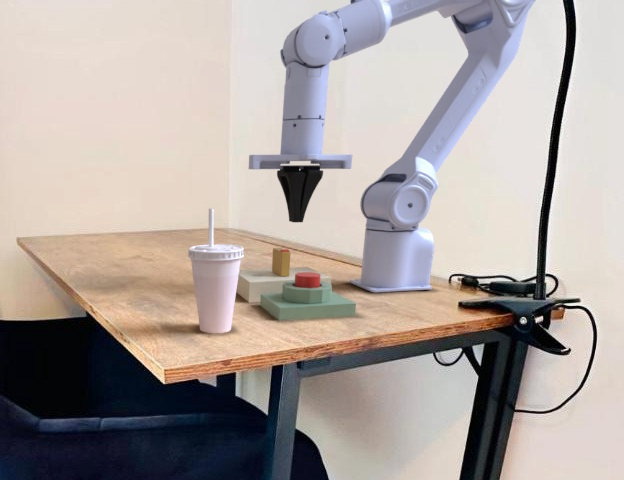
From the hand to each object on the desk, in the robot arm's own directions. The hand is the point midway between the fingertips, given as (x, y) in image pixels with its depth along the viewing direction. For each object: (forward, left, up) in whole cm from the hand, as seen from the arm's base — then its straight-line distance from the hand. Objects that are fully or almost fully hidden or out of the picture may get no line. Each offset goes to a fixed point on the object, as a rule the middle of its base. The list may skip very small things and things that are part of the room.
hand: (295, 221), depth 81 cm
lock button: (+2, +12, -7) cm, 14 cm away
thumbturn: (+2, +1, -7) cm, 8 cm away
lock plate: (+2, +1, -10) cm, 11 cm away
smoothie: (+16, +17, -11) cm, 26 cm away
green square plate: (+2, +12, -10) cm, 16 cm away
